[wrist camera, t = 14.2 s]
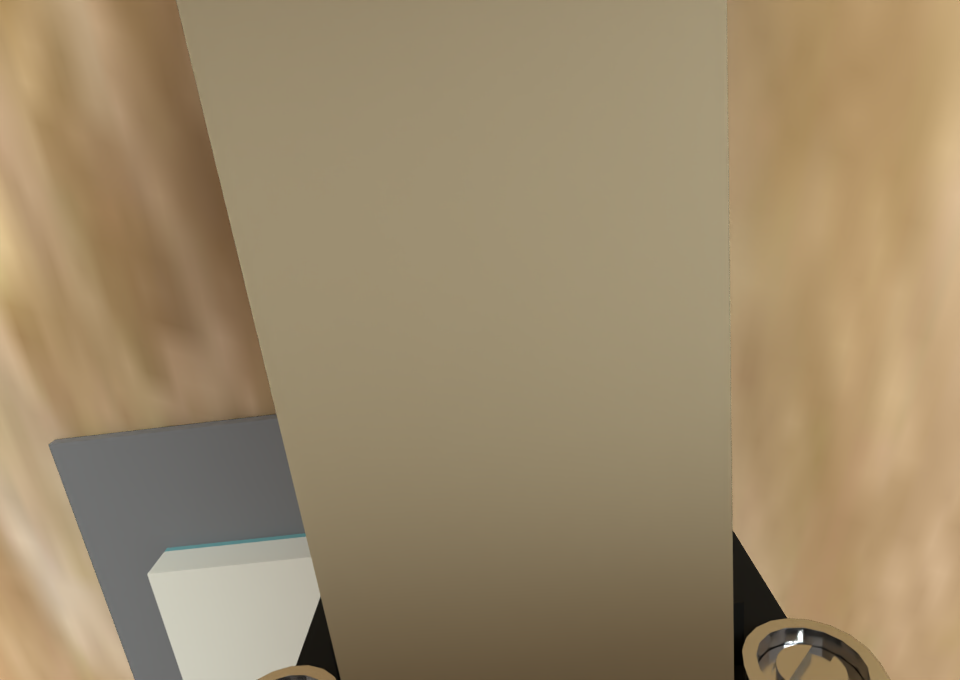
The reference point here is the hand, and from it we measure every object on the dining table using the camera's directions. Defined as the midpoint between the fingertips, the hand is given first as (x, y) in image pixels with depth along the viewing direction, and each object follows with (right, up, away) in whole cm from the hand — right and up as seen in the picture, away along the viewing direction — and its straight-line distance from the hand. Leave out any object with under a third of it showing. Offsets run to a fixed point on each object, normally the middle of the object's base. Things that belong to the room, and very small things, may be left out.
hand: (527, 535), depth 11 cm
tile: (-12, -12, +22) cm, 27 cm away
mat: (-12, -9, +23) cm, 27 cm away
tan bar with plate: (0, 0, +1) cm, 1 cm away
